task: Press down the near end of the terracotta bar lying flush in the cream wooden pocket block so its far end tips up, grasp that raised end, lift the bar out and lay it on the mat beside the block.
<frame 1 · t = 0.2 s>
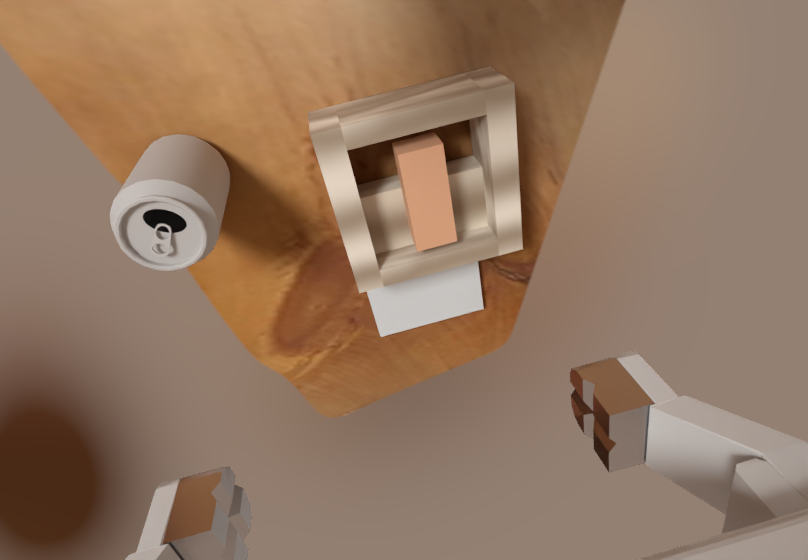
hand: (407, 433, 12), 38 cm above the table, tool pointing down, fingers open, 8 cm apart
mat: (424, 289, 58), on the table
pocket block: (415, 174, 50), on the table
bar: (422, 187, 47), point 3 cm above the table, touching pocket block
can: (188, 170, 45), on the table
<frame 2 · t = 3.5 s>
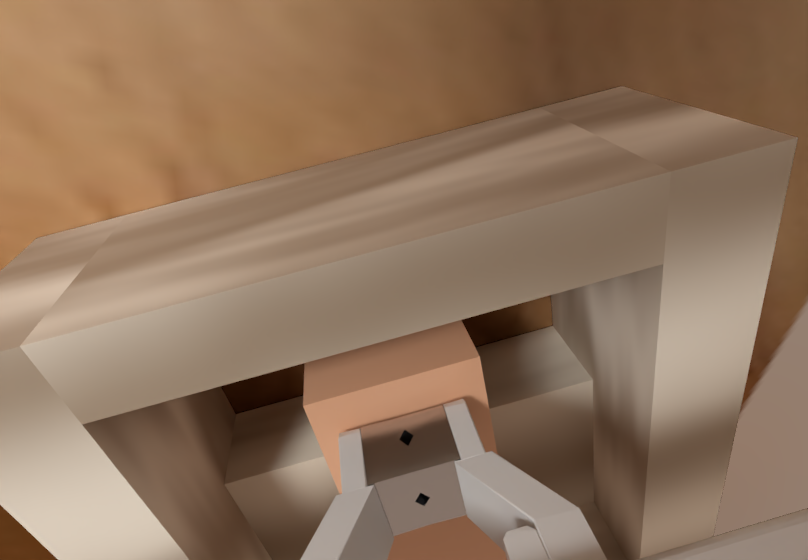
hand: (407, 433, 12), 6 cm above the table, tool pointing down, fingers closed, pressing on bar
pocket block: (399, 379, 18), on the table
bar: (414, 442, 16), point 3 cm above the table, touching gripper, pocket block
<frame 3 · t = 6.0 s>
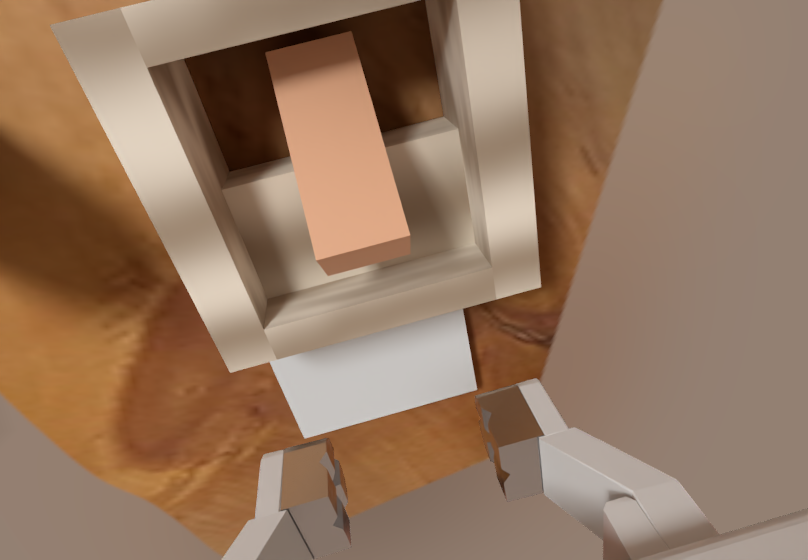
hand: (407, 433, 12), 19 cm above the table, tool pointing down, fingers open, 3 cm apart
mat: (375, 358, 35), on the table
pocket block: (340, 152, 27), on the table
bar: (343, 169, 24), point 3 cm above the table, tilted 43°, touching pocket block
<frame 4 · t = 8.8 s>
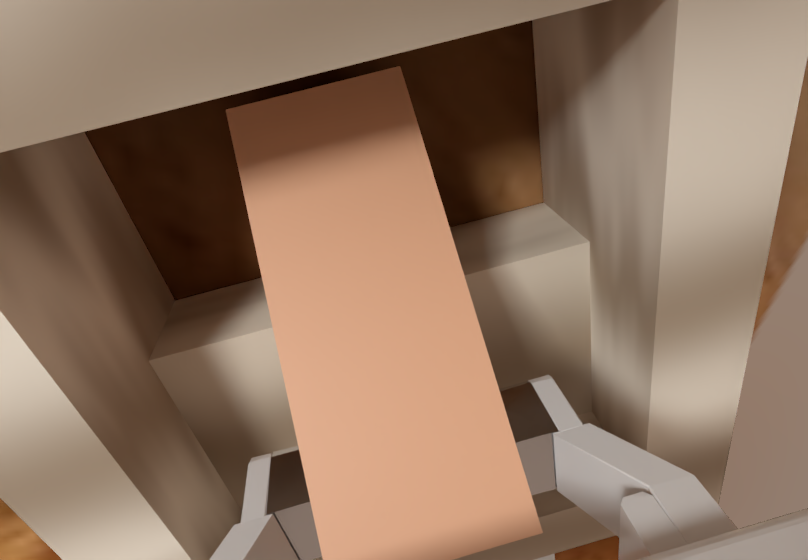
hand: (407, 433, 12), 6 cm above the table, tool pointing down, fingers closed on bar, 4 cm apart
pocket block: (366, 264, 16), on the table
bar: (378, 320, 13), point 3 cm above the table, tilted 43°, touching gripper, pocket block
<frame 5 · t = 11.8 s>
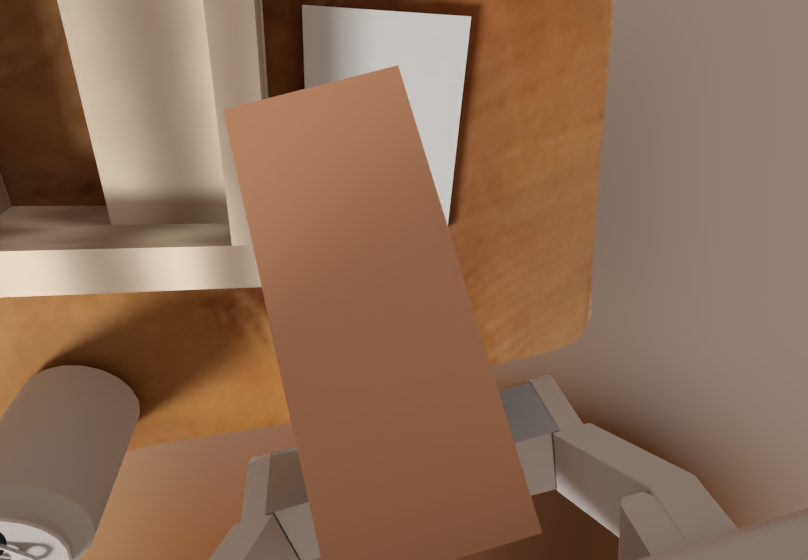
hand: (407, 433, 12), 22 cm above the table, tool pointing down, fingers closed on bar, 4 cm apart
mat: (381, 132, 30), on the table
pocket block: (114, 98, 26), on the table
bar: (377, 320, 13), point 20 cm above the table, tilted 43°, touching gripper
can: (86, 396, 35), on the table
when the fingers open (9 cm above the table, at t = 14.9 s): bar drops 5 cm, resting on mat.
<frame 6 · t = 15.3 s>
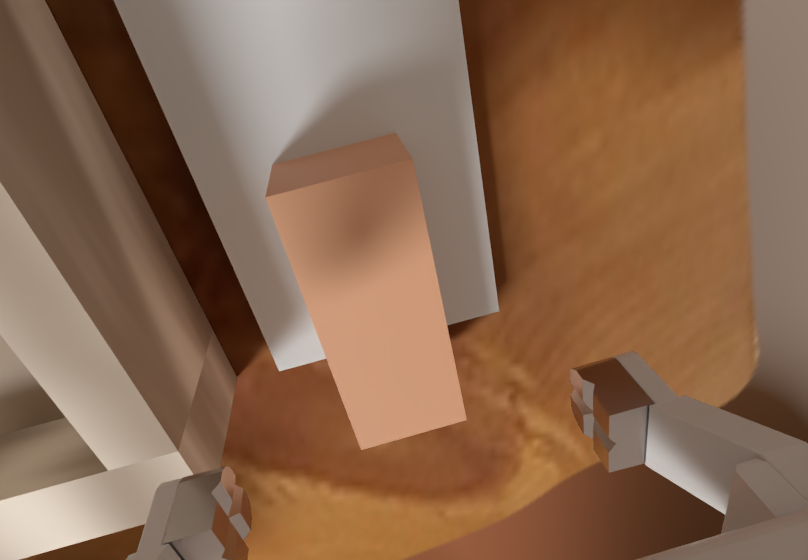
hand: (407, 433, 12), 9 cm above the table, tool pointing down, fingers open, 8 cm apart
mat: (345, 178, 17), on the table
bar: (372, 281, 18), point 1 cm above the table, touching mat
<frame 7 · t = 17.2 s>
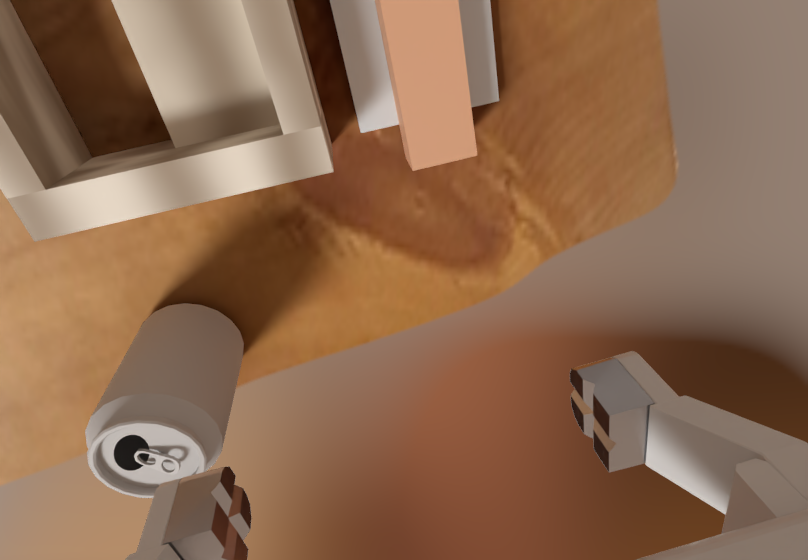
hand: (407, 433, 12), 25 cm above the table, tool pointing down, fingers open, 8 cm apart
mat: (409, 1, 29), on the table
pocket block: (152, 27, 28), on the table
bar: (422, 69, 30), point 1 cm above the table, touching mat
can: (195, 337, 38), on the table
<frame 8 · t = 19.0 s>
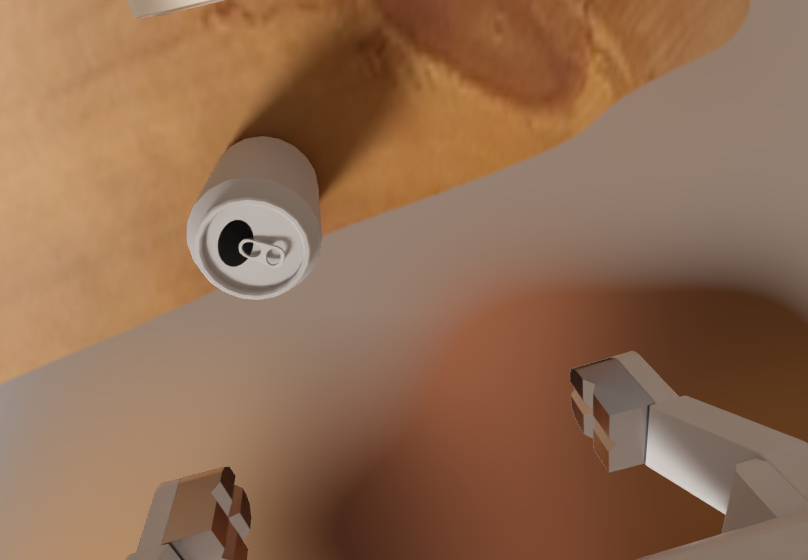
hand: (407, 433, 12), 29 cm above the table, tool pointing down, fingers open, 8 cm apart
can: (267, 182, 38), on the table
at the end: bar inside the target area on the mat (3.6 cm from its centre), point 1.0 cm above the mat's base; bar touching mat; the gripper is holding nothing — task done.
